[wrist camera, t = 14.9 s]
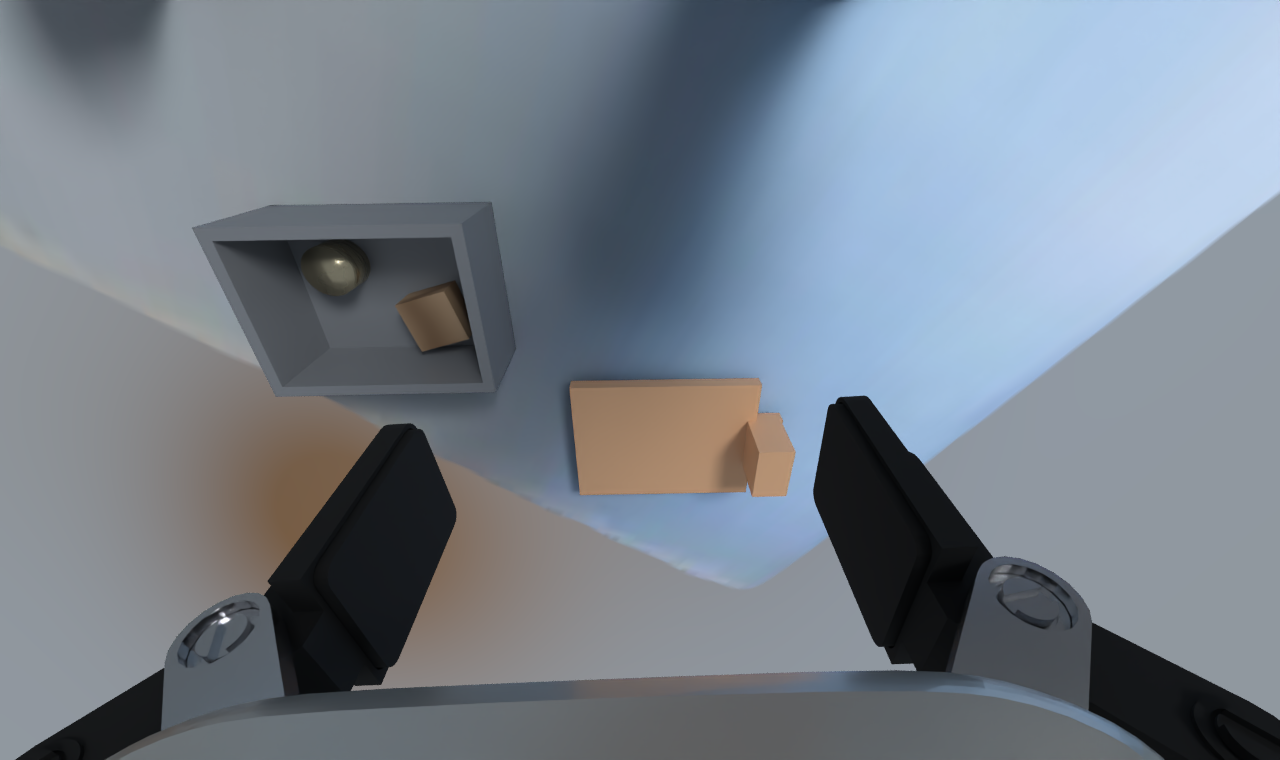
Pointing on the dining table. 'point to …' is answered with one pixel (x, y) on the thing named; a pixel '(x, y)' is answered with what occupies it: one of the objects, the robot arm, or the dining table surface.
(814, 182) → the dining table surface
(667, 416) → the lid
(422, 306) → the walnut block
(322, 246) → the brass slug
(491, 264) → the grey tray
